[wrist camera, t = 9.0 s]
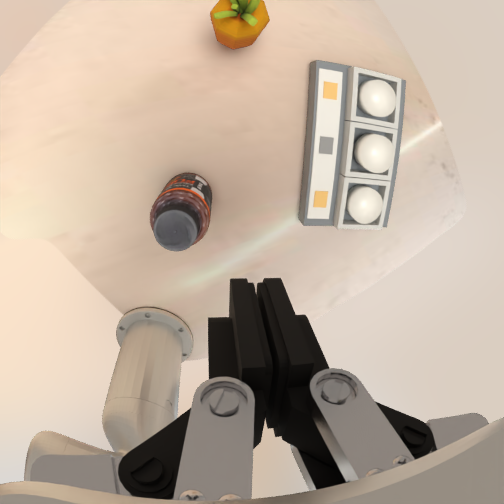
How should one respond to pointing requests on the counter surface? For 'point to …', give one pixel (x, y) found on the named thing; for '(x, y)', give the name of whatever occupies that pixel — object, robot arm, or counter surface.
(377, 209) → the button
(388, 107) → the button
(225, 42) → the carrot
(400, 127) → the panel
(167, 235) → the supplement bottle
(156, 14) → the counter surface
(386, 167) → the button middle
